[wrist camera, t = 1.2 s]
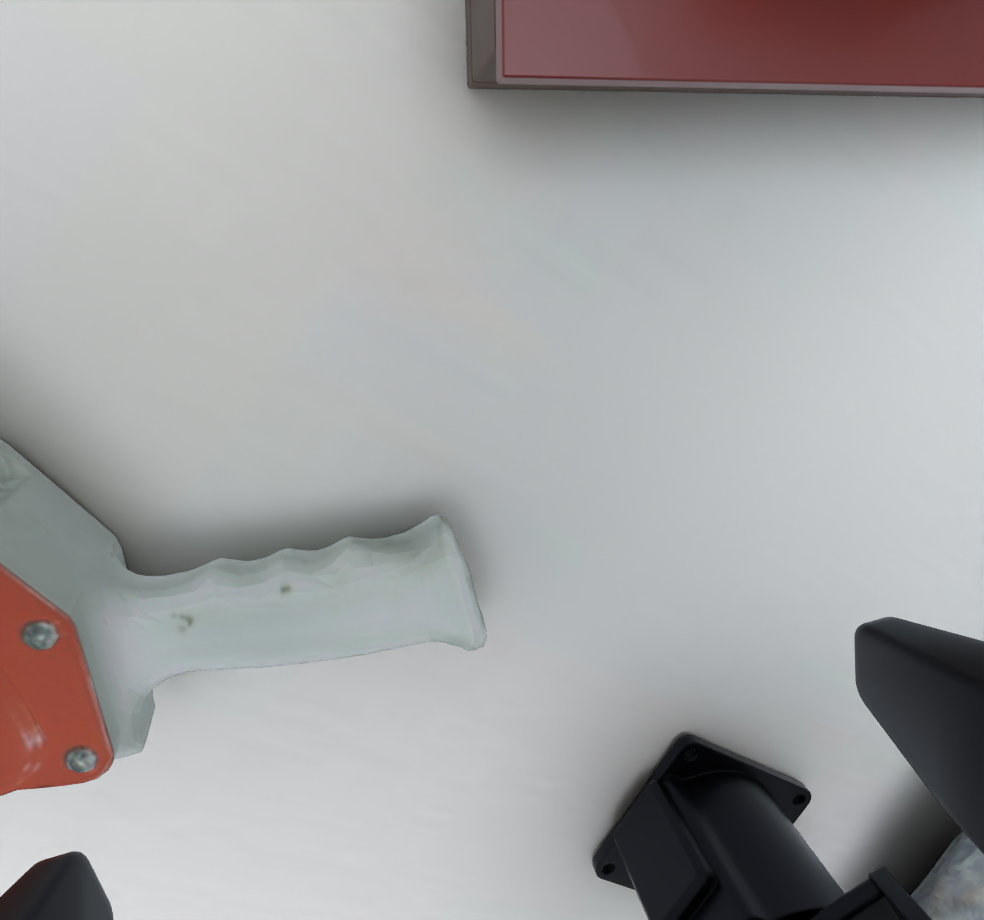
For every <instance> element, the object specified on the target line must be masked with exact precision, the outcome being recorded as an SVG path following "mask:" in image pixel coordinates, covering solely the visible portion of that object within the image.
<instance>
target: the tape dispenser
mask: <svg viewBox="0 0 984 920" xmlns="http://www.w3.org/2000/svg"><path fill="white" fill-rule="evenodd" d="M486 638H487V635H486V628H485V624H484V620H483V616H482V613H481V610H480V608H479V606H478V603H477V599H476V595H475V591H474V587H473V583H472V579H471V575H470V571H469V568H468V566H467V564H466V561H465V559H464V556H463V554H462V551H461V549H460V546H459V543H458V541H457V538H456V536H455V534H454V531H453V529H452V527H451V524H450V523H449V521H448V520H447V518H446V517H443V516H441V515H433V516H431V517H430V518H428V519H427V520H425V521H424V522H422V523H421V524H419V525H417V526H415V527H413V528H411V529H409V530H408V531H406V532H404V533H400V534H396V535H392V536H389V537H384V538H374V539H368V538H359V537H346V538H344V539H342V540H340V541H338V542H336V543H334V544H332V545H330V546H328V547H325V548H322V549H319V550H298V549H291V548H286V549H282V550H280V551H278V552H276V553H274V554H272V555H270V556H267V557H265V558H261V559H256V560H252V561H241V560H234V559H227V558H218V559H216V560H213V561H211V562H209V563H207V564H204V565H202V566H200V567H197V568H195V569H193V570H190V571H185V572H180V573H175V574H170V575H165V576H144V575H137V574H135V573H133V572H131V571H129V570H127V566H126V563H125V559H124V555H123V551H122V547H121V546H120V544H119V542H118V540H117V538H116V536H115V535H114V534H113V533H111V532H110V531H109V530H108V529H107V528H106V527H104V526H103V525H102V524H101V523H100V522H99V521H97V520H96V519H95V518H94V517H93V516H92V515H91V514H89V513H88V512H87V511H86V510H85V509H84V508H82V507H81V506H80V505H79V504H78V503H77V502H75V501H74V500H73V499H72V498H71V497H69V496H68V495H67V494H66V493H65V492H64V491H62V490H61V489H60V488H59V487H58V486H57V485H55V484H54V483H53V482H52V481H51V480H50V479H48V478H47V477H46V476H45V475H44V474H43V473H41V472H40V471H39V470H38V469H37V468H35V467H34V466H33V465H32V464H31V463H30V462H28V461H27V460H26V459H25V458H24V457H23V456H21V455H20V454H19V453H18V452H17V451H16V450H14V449H13V448H12V447H11V446H9V445H8V444H7V443H6V442H4V441H2V440H1V439H0V796H1V795H4V794H7V793H10V792H13V791H16V790H21V789H35V788H46V787H55V786H64V785H71V784H78V783H84V782H87V781H90V780H94V779H97V778H99V777H100V776H101V775H103V774H104V773H105V772H107V771H108V770H109V768H110V767H111V765H112V763H113V761H114V759H117V758H121V757H125V756H129V755H132V754H135V753H138V752H141V751H142V750H143V748H144V745H145V742H146V738H147V735H148V732H149V728H150V724H151V720H152V716H153V713H154V709H155V704H154V698H153V692H152V689H153V688H154V687H155V686H156V685H157V684H159V683H161V682H163V681H164V680H166V679H168V678H170V677H171V676H174V675H178V674H181V673H185V672H189V671H201V670H220V669H239V668H258V667H270V666H280V665H290V664H300V663H308V662H316V661H324V660H332V659H340V658H346V657H352V656H358V655H364V654H369V653H374V652H379V651H384V650H389V649H394V648H398V647H403V646H408V645H413V644H417V643H422V642H444V643H448V644H452V645H455V646H458V647H461V648H464V649H466V650H468V651H470V650H476V649H478V648H480V647H482V646H484V644H485V641H486Z"/></svg>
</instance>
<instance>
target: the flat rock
mask: <svg viewBox="0 0 984 920" xmlns="http://www.w3.org/2000/svg"><path fill="white" fill-rule="evenodd" d="M911 897H912V898H913V899H914V900H915V902H916V903H917V904H918V905H919V906H920V907H921V908H922V909H923V910H924V911H925V912H926V914H927V915H928V916H929V917H930V918H931V919H932V920H984V854H983V853H982V852H981V851H980V850H979V849H978V848H977V846H976V845H975V844H974V843H973V842H972V841H971V840H970V839H969V838H968V836H967V835H966V834H965V833H964V832H963V831H962V832H961V833H960V834H959V835H958V836H957V837H956V838H954V840H953V841H952V842H951V843H950V845H949V846H948V847H947V849H946V850H945V852H944V853H943V854H942V856H941V857H940V859H939V860H938V861H937V863H936V864H935V866H934V867H933V868H932V870H931V871H930V872H929V874H928V875H927V876H926V878H925V879H924V880H923V881H922V883H921V884H920V885H919V886H918V887H917V889H916V890H915V891H914V892H913V893H912V895H911Z"/></svg>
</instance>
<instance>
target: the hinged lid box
mask: <svg viewBox="0 0 984 920" xmlns="http://www.w3.org/2000/svg"><path fill="white" fill-rule="evenodd" d="M465 5H466V46H467V85H468V87H469V88H480V89H533V90H587V91H641V92H694V93H748V94H802V95H855V96H909V97H963V98H984V94H979V93H929V92H879V91H828V90H778V89H727V88H677V87H626V86H576V85H526V84H499V83H497V78H496V1H495V0H465Z"/></svg>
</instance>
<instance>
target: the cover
mask: <svg viewBox="0 0 984 920" xmlns="http://www.w3.org/2000/svg"><path fill="white" fill-rule="evenodd" d="M495 1H496V78H497V83H499V84H526V85H576V86H626V87H677V88H727V89H778V90H828V91H879V92H929V93H979V94H984V0H495Z"/></svg>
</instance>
